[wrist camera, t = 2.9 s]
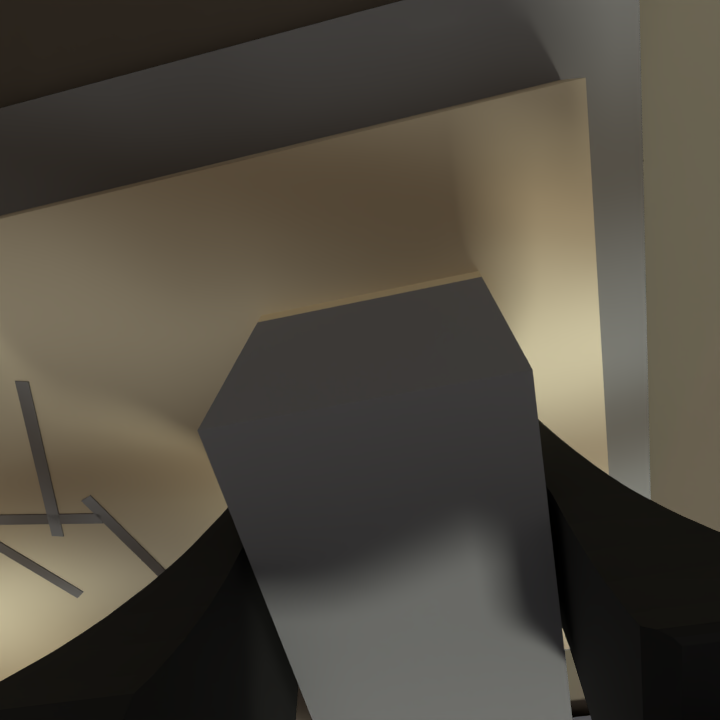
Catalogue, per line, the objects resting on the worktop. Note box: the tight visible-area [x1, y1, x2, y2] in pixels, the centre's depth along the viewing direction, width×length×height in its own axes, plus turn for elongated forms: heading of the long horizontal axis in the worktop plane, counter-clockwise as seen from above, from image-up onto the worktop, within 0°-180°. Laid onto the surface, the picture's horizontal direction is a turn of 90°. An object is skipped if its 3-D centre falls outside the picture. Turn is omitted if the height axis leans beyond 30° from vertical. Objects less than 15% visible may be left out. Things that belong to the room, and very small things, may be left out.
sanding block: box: [197, 271, 572, 720], centre depth 11 cm, size 8×4×4 cm, turn 13°
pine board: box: [0, 0, 651, 681], centre depth 15 cm, size 18×23×2 cm
